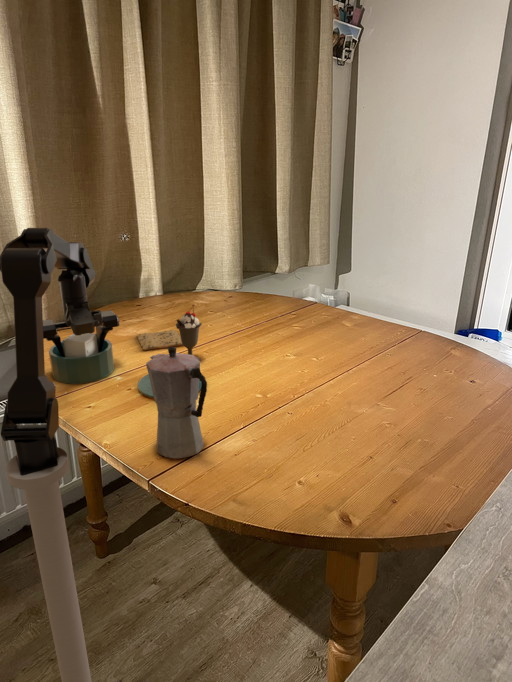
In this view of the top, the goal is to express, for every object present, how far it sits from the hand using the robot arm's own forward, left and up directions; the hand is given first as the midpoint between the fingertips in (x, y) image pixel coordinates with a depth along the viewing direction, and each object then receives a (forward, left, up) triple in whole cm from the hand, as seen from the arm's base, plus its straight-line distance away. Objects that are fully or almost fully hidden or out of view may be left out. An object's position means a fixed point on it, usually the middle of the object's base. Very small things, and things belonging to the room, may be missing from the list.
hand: (82, 356), depth 124 cm
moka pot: (+8, -44, -4) cm, 45 cm away
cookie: (+24, +10, -4) cm, 26 cm away
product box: (0, 0, -2) cm, 2 cm away
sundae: (+26, -7, -4) cm, 27 cm away
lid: (+16, -19, -3) cm, 25 cm away
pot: (0, 0, -4) cm, 4 cm away
